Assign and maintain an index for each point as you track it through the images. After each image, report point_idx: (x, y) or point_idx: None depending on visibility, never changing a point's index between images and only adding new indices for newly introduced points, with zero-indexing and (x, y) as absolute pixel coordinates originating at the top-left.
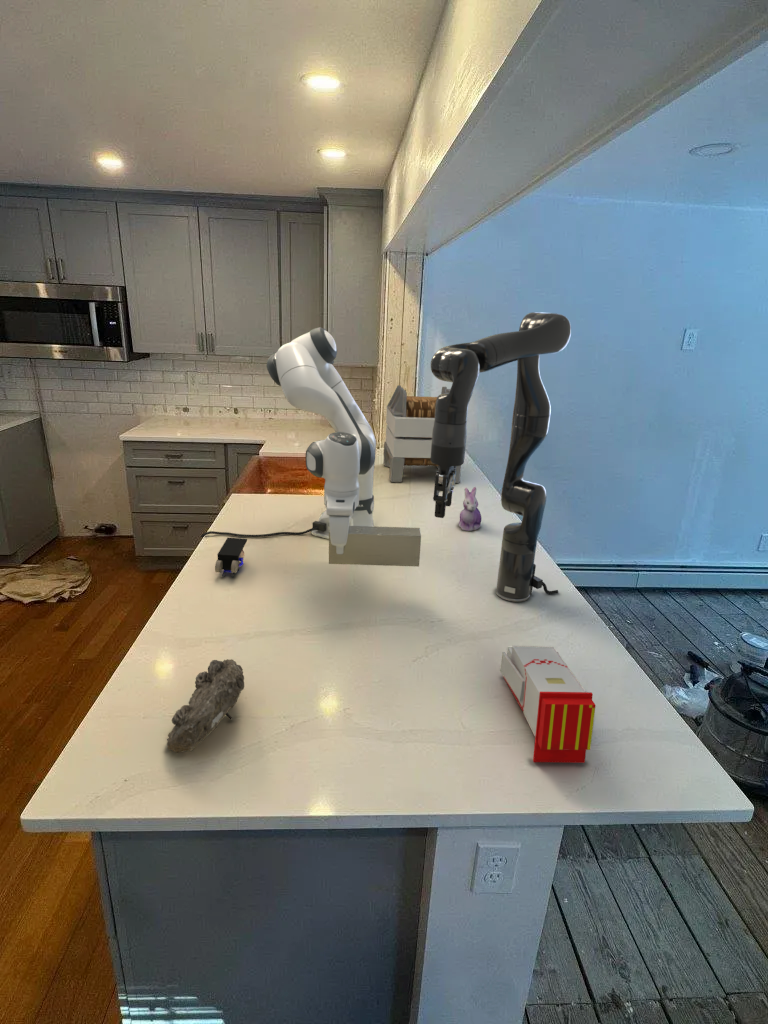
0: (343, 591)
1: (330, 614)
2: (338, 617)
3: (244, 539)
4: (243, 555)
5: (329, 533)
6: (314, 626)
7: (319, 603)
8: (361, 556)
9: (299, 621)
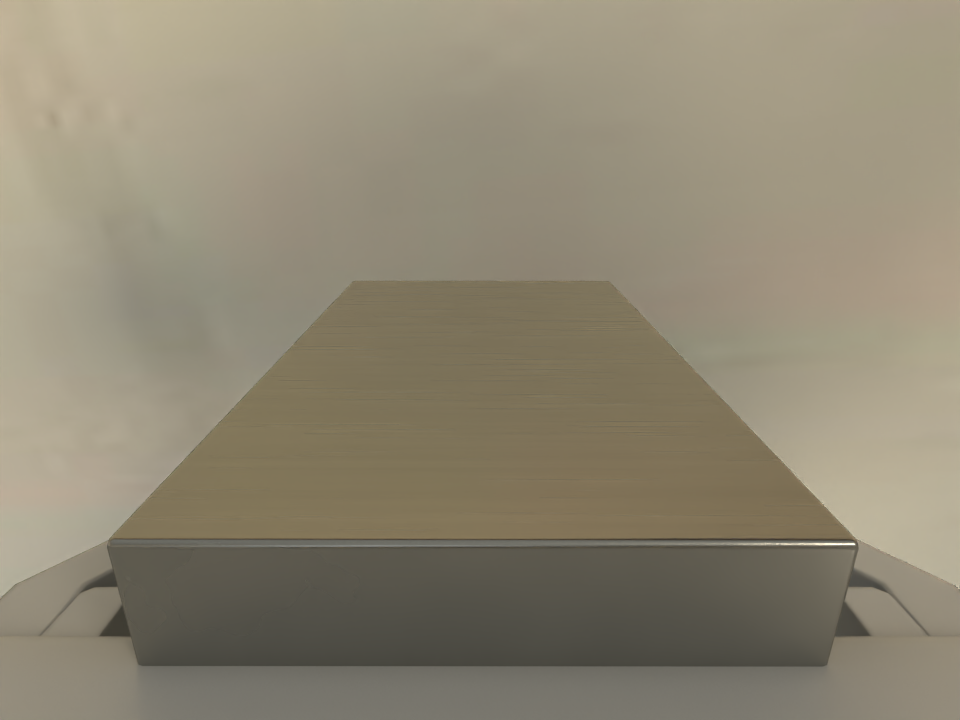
0: None
1: (287, 240)
2: (260, 291)
3: None
4: None
5: (110, 551)
6: (120, 149)
7: (419, 152)
8: None
9: (155, 33)
